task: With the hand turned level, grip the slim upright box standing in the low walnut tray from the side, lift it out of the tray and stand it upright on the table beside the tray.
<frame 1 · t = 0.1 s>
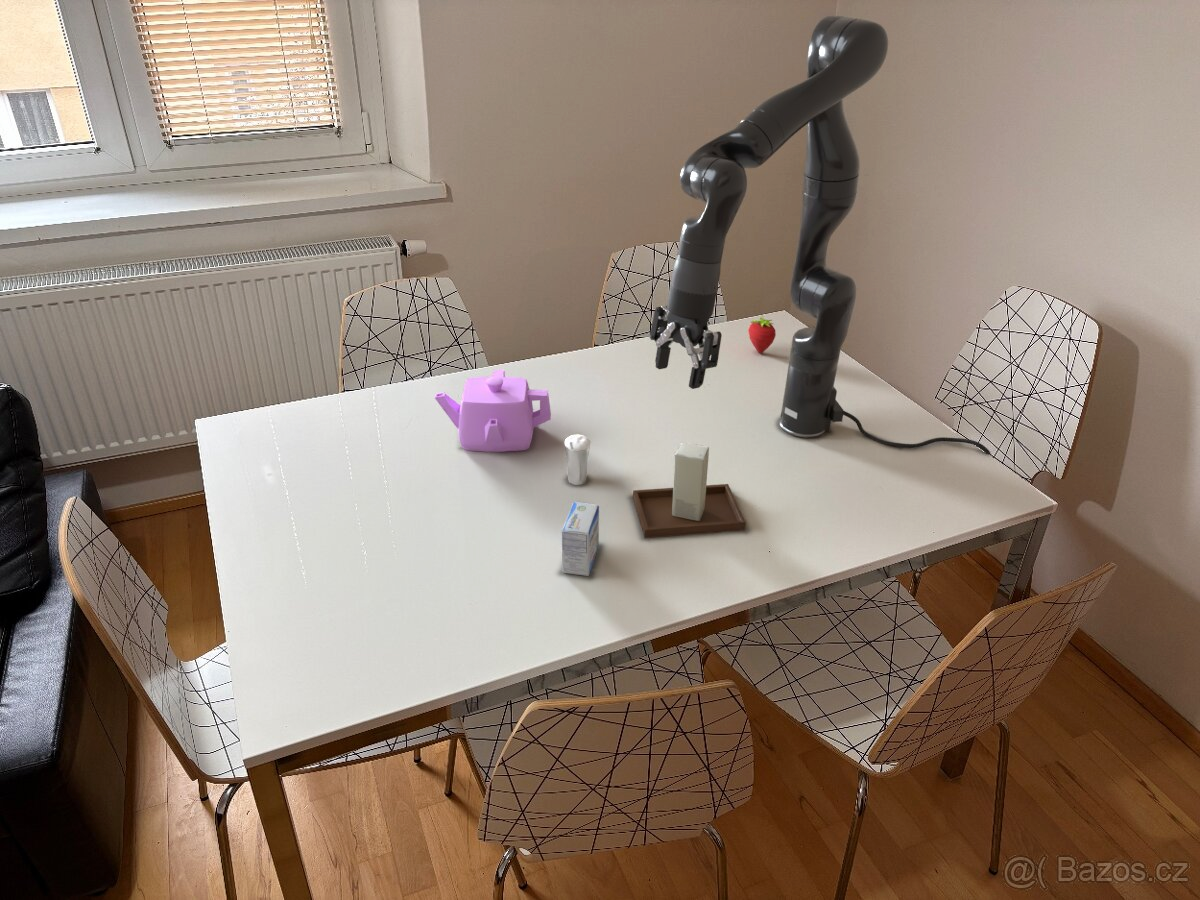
hand: (677, 377, 147), 22 cm above the table, tool pointing down, fingers open, 8 cm apart
tray: (687, 513, 153), on the table
medicine box: (580, 560, 142), on the table
strawberry: (759, 354, 206), on the table
teakettle: (495, 437, 172), on the table
milkshake: (576, 482, 160), on the table
box: (687, 513, 152), resting on tray
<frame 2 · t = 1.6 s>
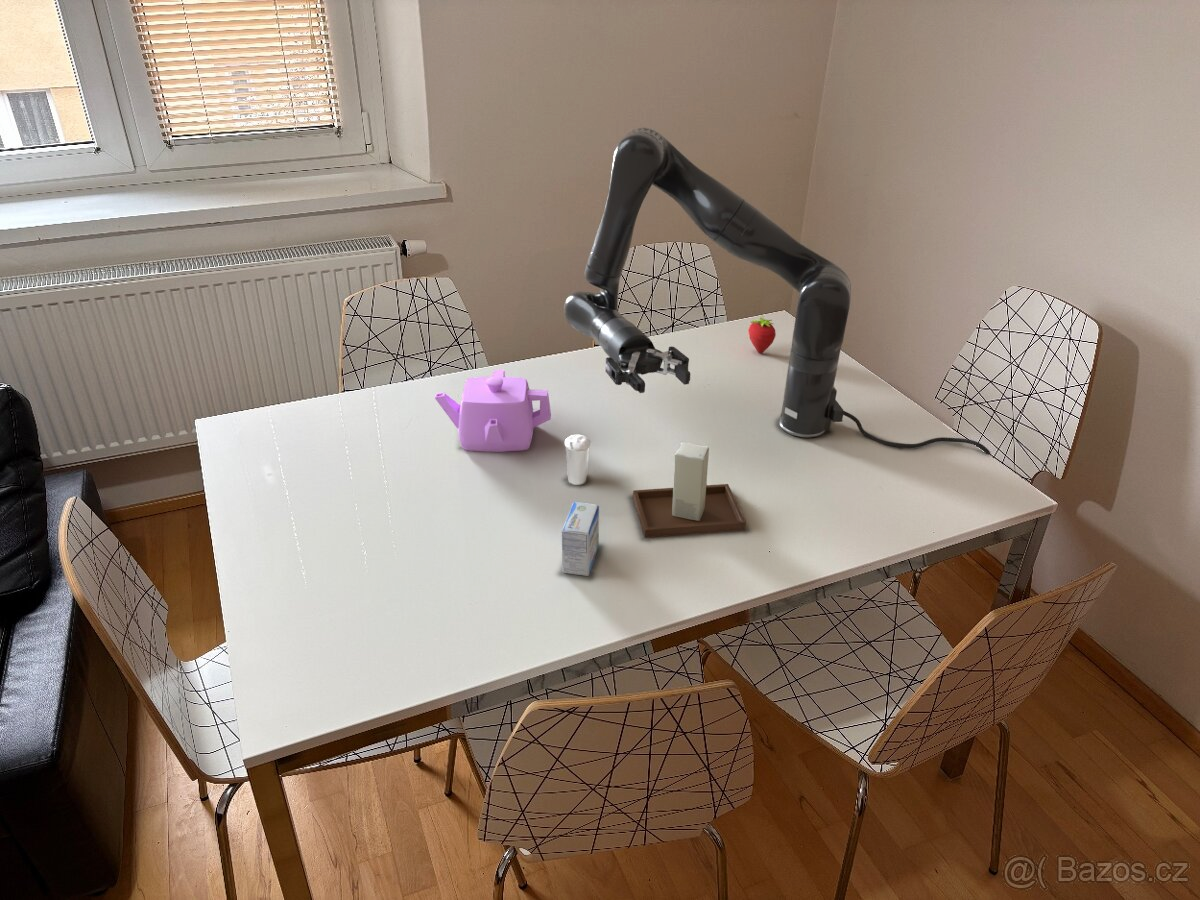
hand: (665, 383, 150), 20 cm above the table, tool horizontal, fingers open, 8 cm apart
nothing on the table moved.
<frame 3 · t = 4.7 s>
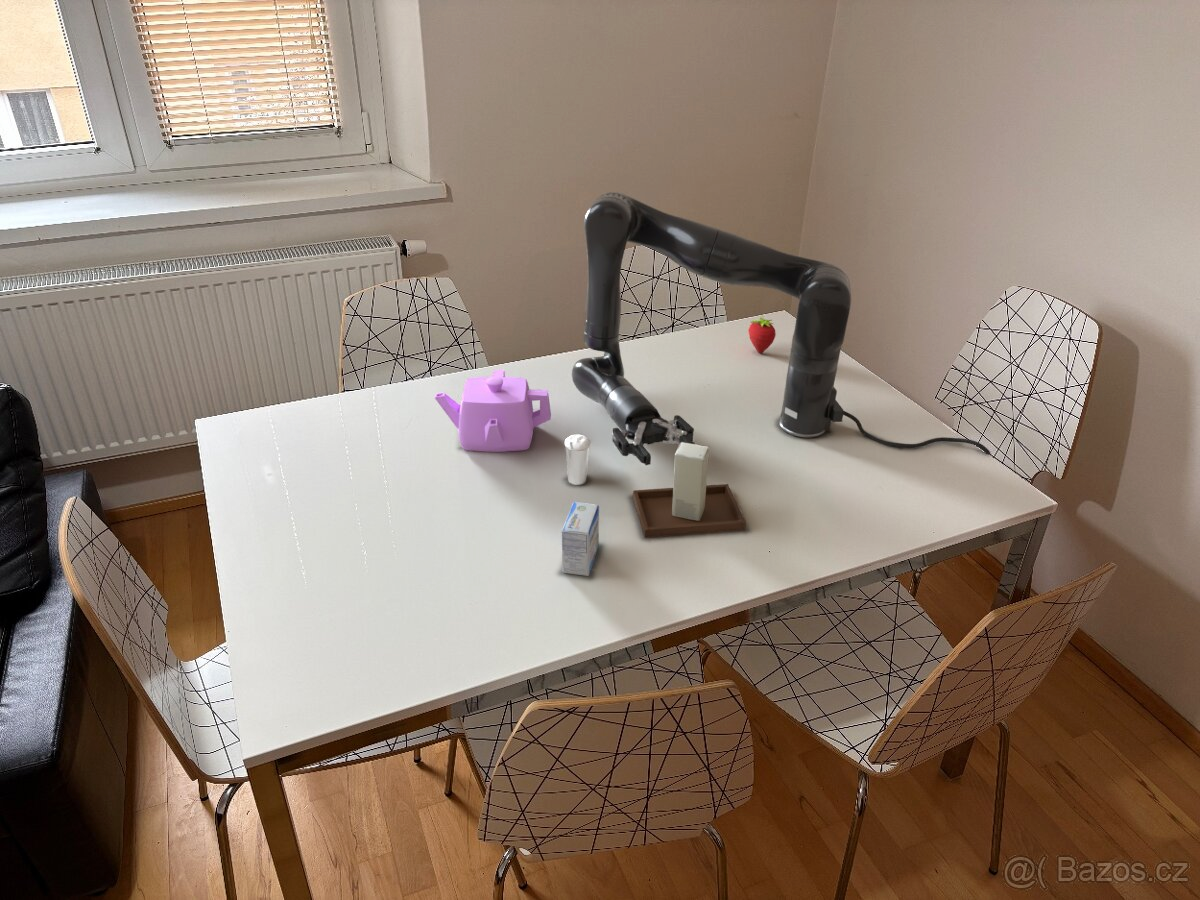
hand: (670, 455, 154), 8 cm above the table, tool horizontal, fingers open, 8 cm apart
nothing on the table moved.
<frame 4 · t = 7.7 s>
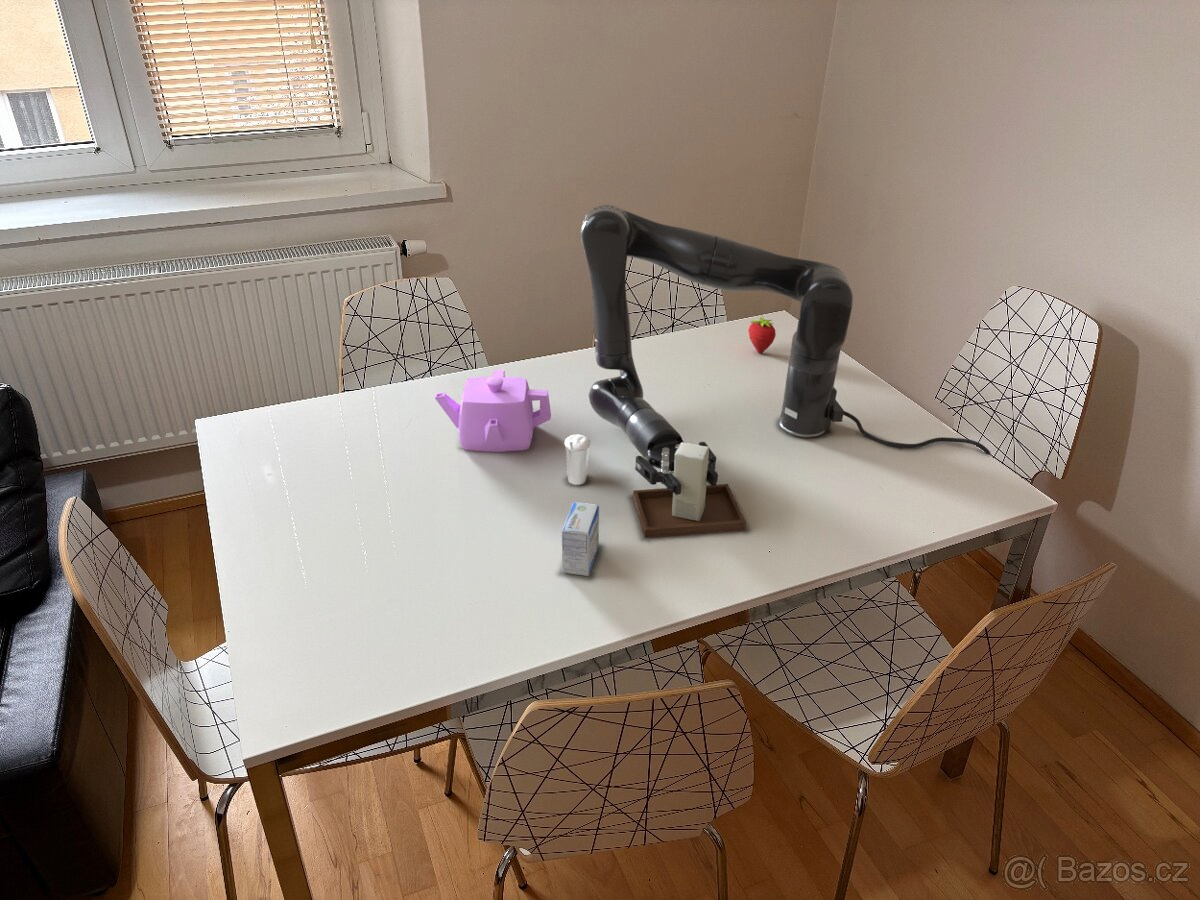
hand: (697, 485, 147), 8 cm above the table, tool horizontal, fingers closed on box, 6 cm apart
box: (687, 513, 152), resting on tray, touching gripper
everything else where it was.
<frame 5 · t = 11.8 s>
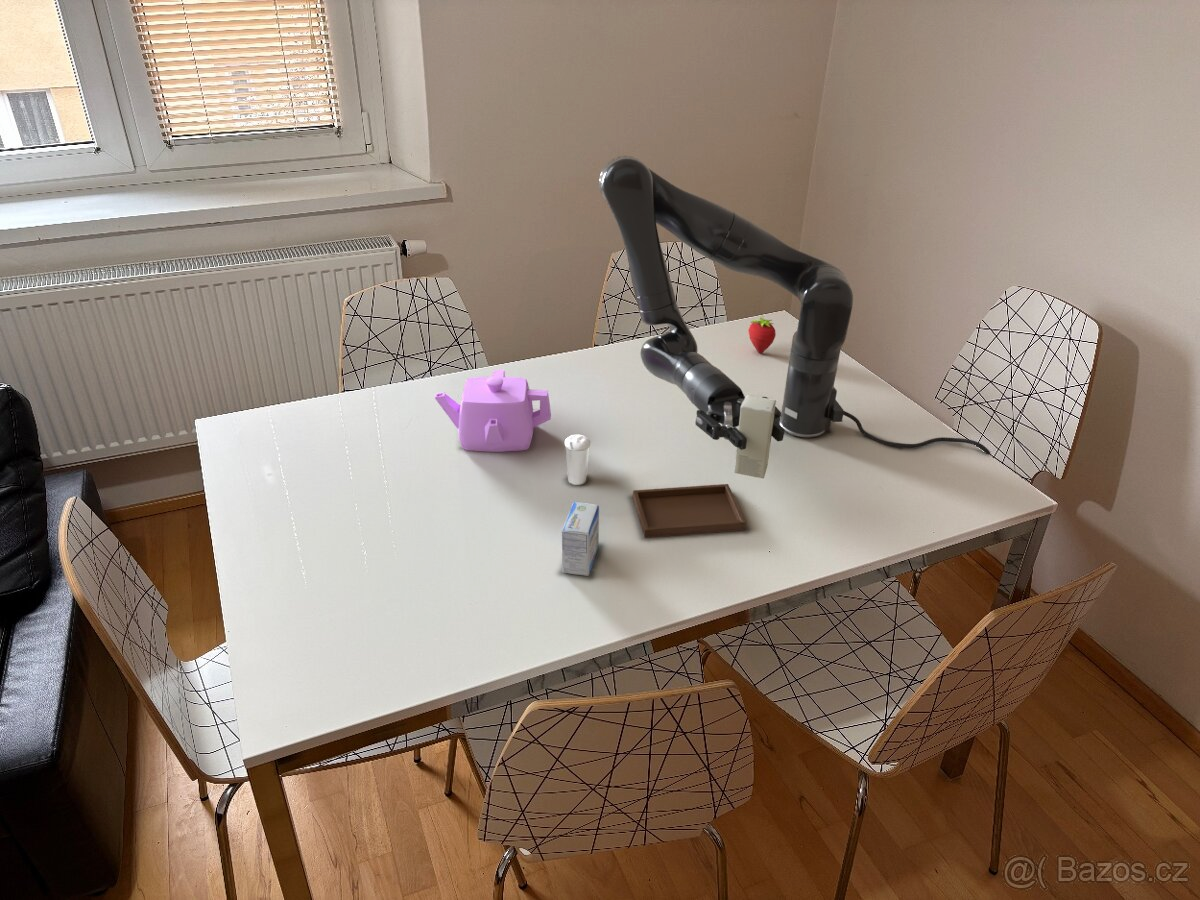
hand: (763, 440, 140), 18 cm above the table, tool horizontal, fingers closed on box, 6 cm apart
box: (749, 470, 146), point 10 cm above the table, touching gripper
everything else where it was.
when the fingers open (7 cm above the table, at t = 16.1 s): box stays where it is, on the table.
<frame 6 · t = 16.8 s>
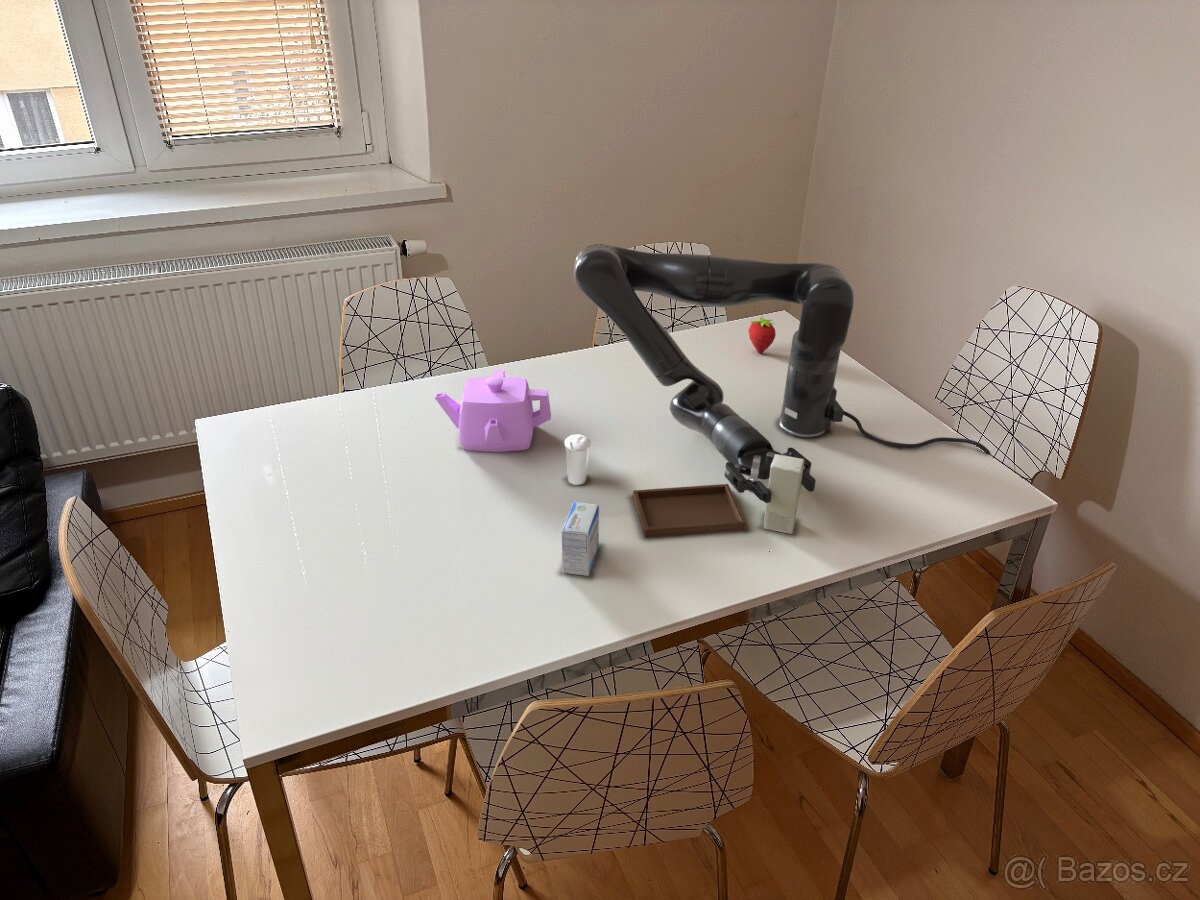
hand: (791, 492, 145), 8 cm above the table, tool horizontal, fingers open, 8 cm apart
box: (778, 525, 150), on the table
everything else where it was.
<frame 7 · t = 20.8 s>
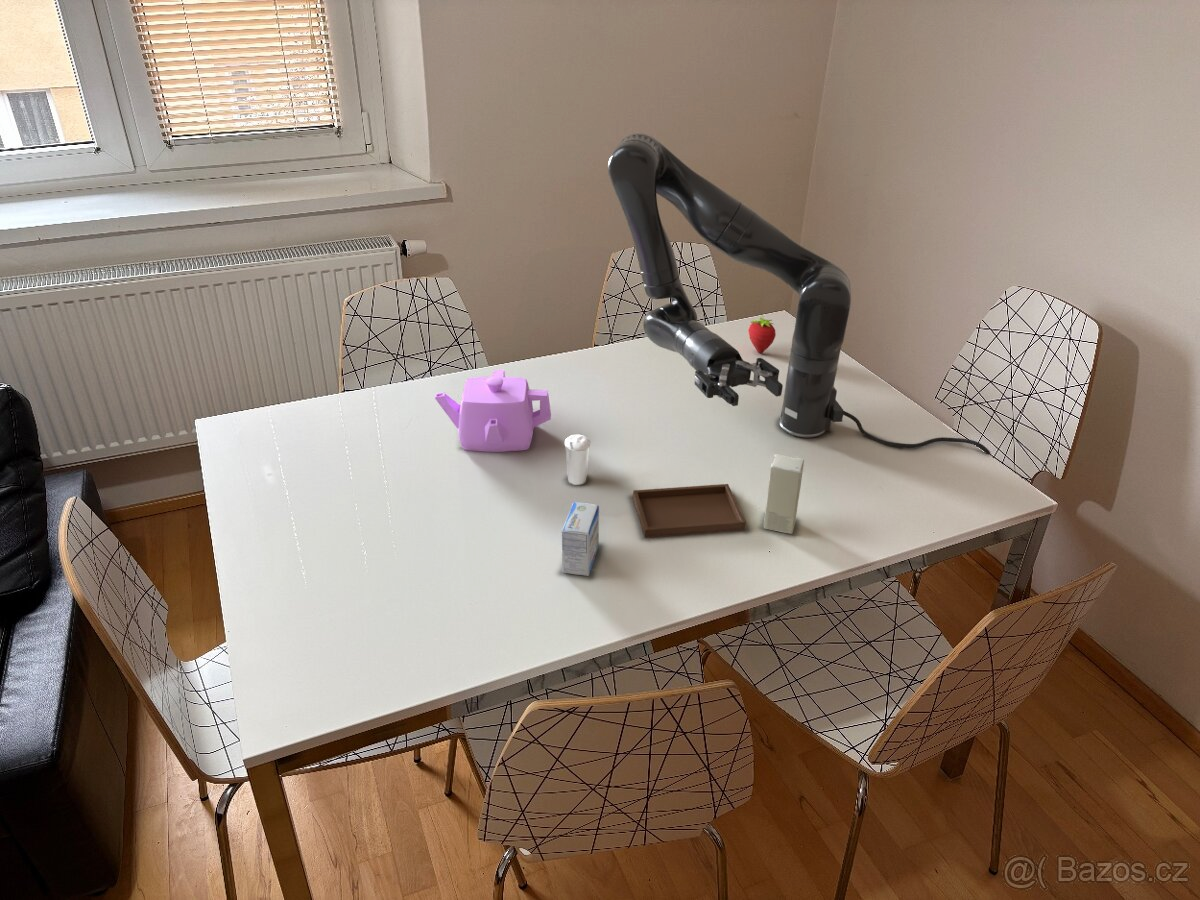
hand: (758, 396, 148), 19 cm above the table, tool horizontal, fingers open, 8 cm apart
nothing on the table moved.
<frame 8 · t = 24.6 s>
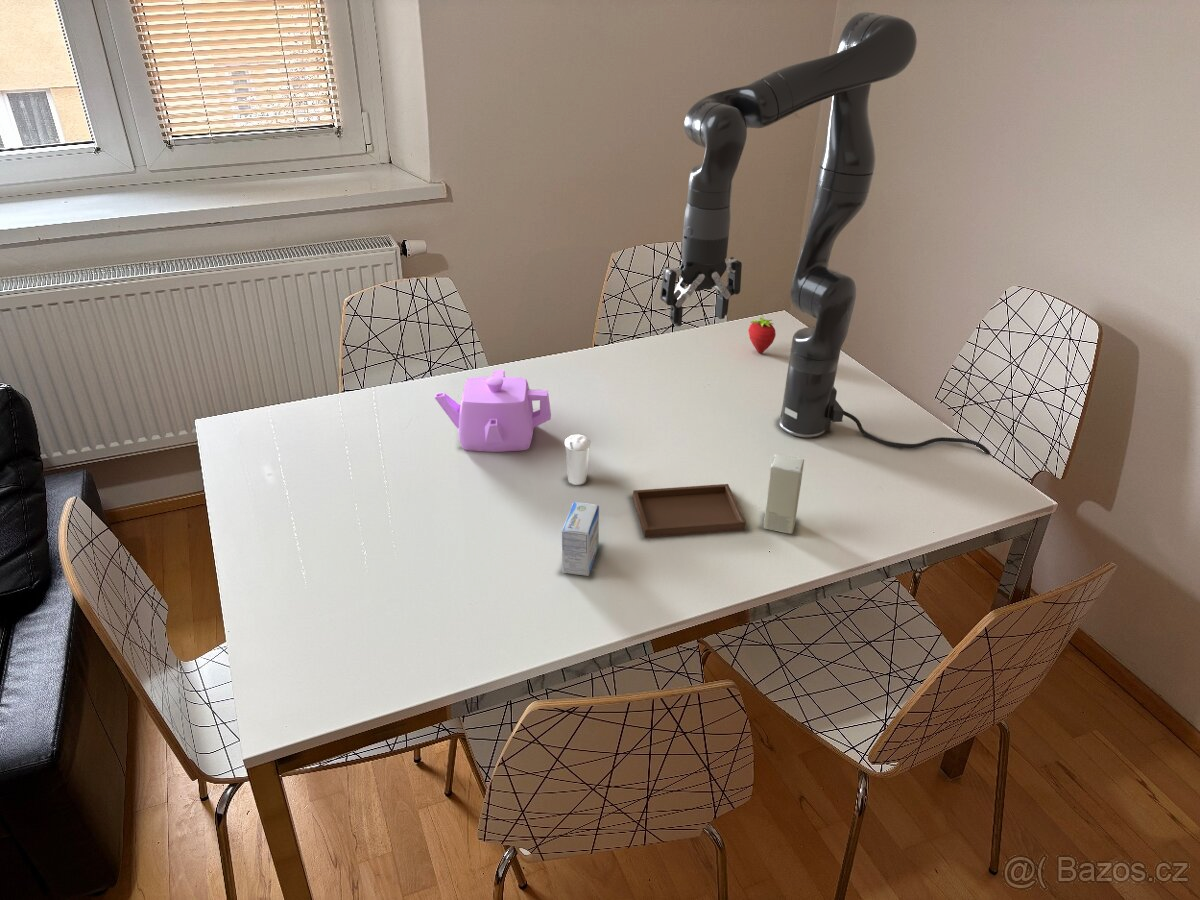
hand: (698, 321, 153), 28 cm above the table, tool pointing down, fingers open, 8 cm apart
nothing on the table moved.
at the end: box inside the target area (0.1 cm from its centre), on the table; box touching table; box tilted 0° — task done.
